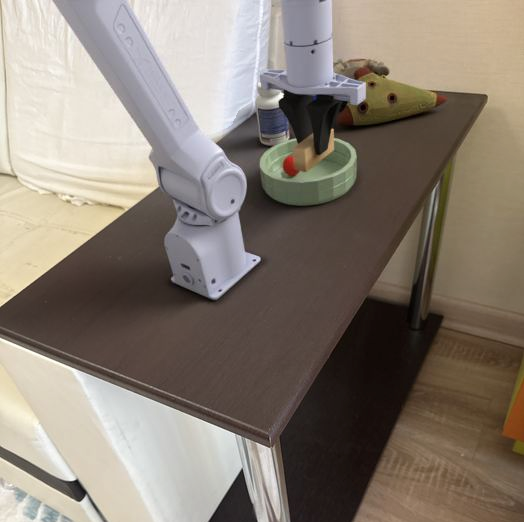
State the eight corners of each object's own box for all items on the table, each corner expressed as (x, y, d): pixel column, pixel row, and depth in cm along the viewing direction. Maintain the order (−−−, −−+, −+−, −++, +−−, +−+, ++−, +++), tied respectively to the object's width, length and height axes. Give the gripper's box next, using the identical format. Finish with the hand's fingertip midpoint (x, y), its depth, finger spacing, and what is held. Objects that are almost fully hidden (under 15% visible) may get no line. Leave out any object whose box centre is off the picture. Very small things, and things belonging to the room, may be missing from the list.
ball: (295, 180, 82) (293, 162, 79) (279, 176, 83) (277, 158, 81) (306, 172, 83) (304, 154, 81) (290, 168, 85) (289, 150, 82)
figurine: (327, 130, 98) (320, 122, 111) (399, 89, 94) (383, 85, 108) (304, 81, 94) (300, 78, 107) (378, 35, 90) (365, 39, 104)
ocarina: (443, 113, 96) (430, 59, 95) (455, 99, 90) (441, 42, 90) (337, 138, 95) (324, 84, 95) (342, 126, 90) (328, 69, 89)
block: (306, 172, 70) (304, 151, 68) (293, 169, 71) (292, 148, 69) (334, 149, 73) (333, 128, 71) (322, 147, 74) (321, 126, 72)
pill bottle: (294, 141, 93) (290, 83, 86) (266, 149, 92) (259, 91, 85) (282, 130, 96) (277, 74, 89) (255, 138, 95) (248, 82, 88)
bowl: (322, 216, 75) (321, 190, 72) (244, 193, 82) (240, 169, 79) (373, 170, 82) (374, 145, 79) (297, 153, 89) (295, 130, 86)
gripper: (380, 31, 60) (376, 146, 69) (278, 23, 67) (287, 128, 77) (347, 53, 56) (348, 170, 66) (244, 41, 63) (258, 149, 73)
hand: (314, 149), depth 71 cm, fingers closed on block, 2 cm apart
